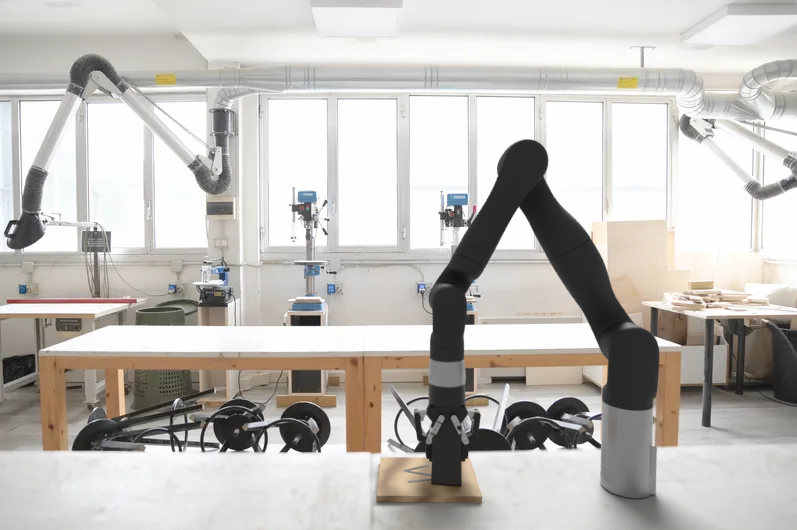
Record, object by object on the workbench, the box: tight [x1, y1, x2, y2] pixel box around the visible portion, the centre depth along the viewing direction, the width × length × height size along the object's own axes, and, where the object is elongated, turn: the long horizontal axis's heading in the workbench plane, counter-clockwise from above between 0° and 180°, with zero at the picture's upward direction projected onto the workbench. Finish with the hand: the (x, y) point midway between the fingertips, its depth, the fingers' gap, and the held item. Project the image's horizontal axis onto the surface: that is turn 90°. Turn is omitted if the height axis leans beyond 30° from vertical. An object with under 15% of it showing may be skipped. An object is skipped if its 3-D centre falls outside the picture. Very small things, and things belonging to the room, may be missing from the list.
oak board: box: [376, 456, 483, 504], centre depth 95 cm, size 20×16×1 cm
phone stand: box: [431, 420, 463, 486], centre depth 95 cm, size 9×6×12 cm, turn 172°
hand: (446, 459), depth 95 cm, fingers closed on phone stand, 6 cm apart
